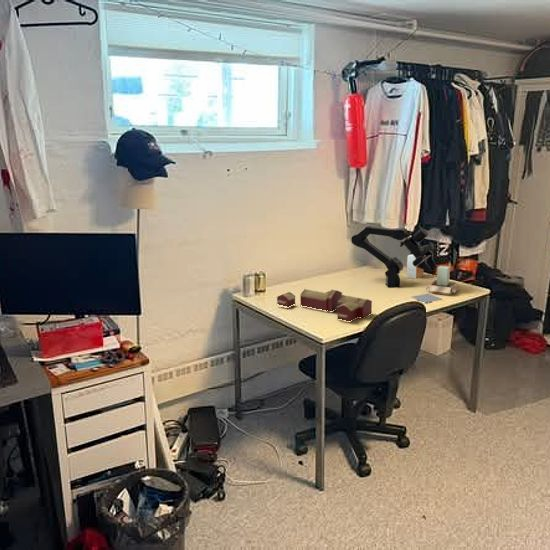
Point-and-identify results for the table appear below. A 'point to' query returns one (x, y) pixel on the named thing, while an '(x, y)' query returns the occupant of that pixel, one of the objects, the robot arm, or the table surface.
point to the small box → (413, 268)
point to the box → (443, 276)
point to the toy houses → (330, 303)
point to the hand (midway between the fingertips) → (434, 270)
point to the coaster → (426, 298)
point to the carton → (443, 288)
